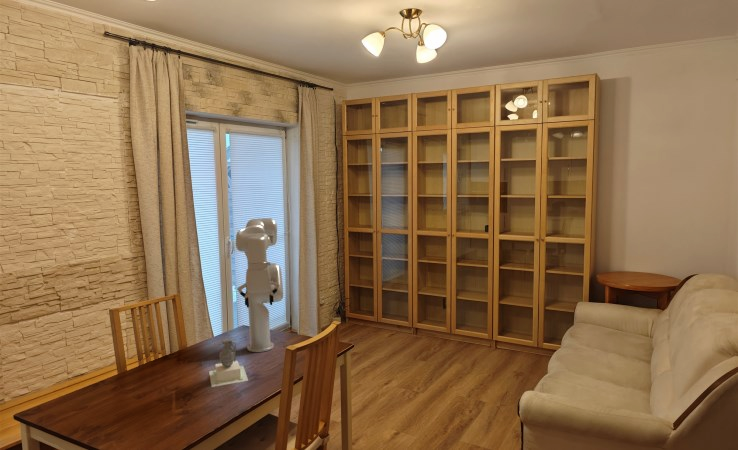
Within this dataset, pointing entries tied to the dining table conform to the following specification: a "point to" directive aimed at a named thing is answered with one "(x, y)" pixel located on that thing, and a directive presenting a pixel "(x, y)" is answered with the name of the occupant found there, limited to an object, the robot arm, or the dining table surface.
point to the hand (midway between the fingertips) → (259, 305)
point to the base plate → (218, 383)
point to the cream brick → (228, 372)
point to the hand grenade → (227, 353)
